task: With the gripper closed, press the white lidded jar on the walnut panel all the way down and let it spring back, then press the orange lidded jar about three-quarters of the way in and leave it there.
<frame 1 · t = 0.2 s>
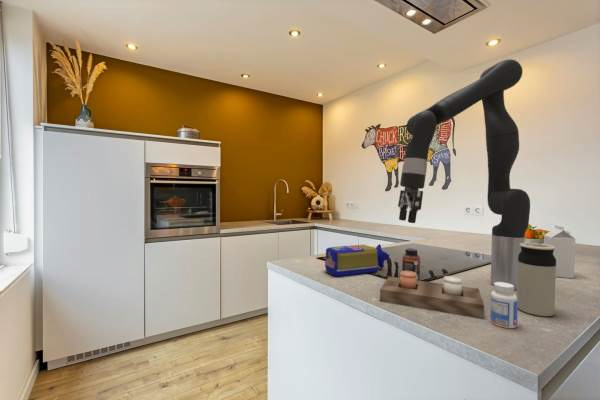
hand: (406, 221, 97), 22 cm above the counter, tool pointing down, fingers open, 8 cm apart
supplement bottle: (410, 280, 106), on the counter
button panel: (429, 300, 86), on the counter
bread: (355, 272, 117), on the counter
pill bottle: (503, 324, 72), on the counter
white lidded jar: (452, 286, 84), point 5 cm above the counter, slide at 0.0 cm
travel mug: (534, 311, 79), on the counter
milk carton: (557, 275, 113), on the counter
orange lidded jar: (408, 280, 89), point 5 cm above the counter, slide at 0.0 cm
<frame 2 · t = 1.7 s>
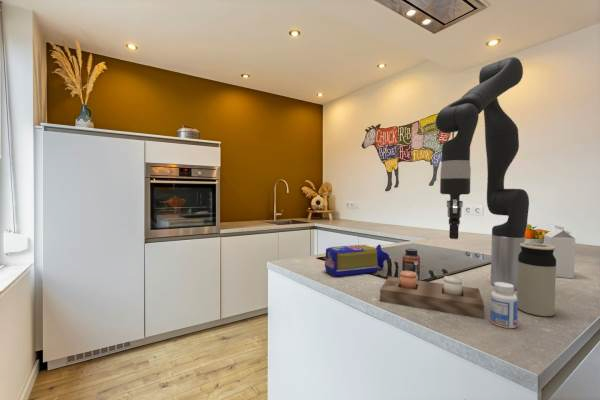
hand: (453, 238, 83), 19 cm above the counter, tool pointing down, fingers closed
nothing on the counter moved.
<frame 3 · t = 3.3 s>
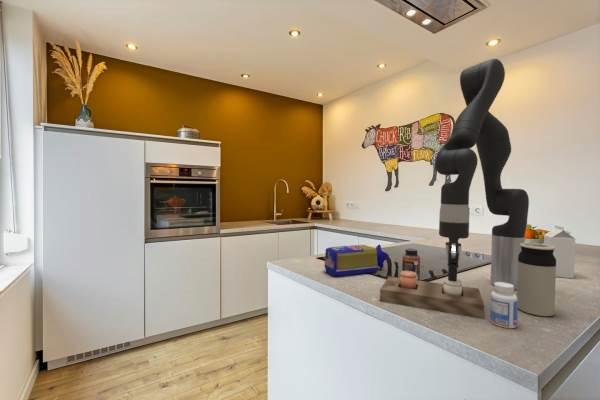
hand: (452, 280, 83), 7 cm above the counter, tool pointing down, fingers closed
white lidded jar: (452, 288, 84), point 4 cm above the counter, slide at 0.7 cm, touching gripper
everything else where it was.
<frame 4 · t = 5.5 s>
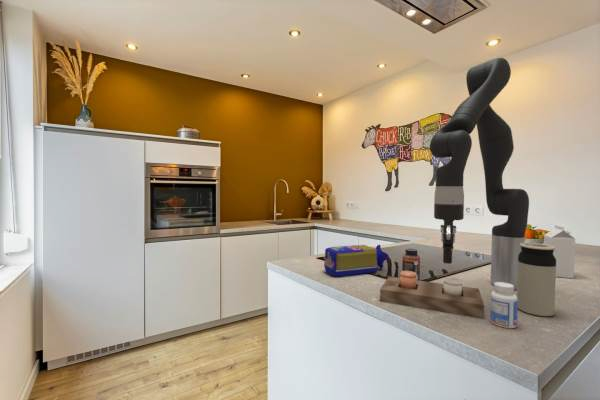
hand: (447, 262, 84), 12 cm above the counter, tool pointing down, fingers closed
white lidded jar: (452, 288, 84), point 5 cm above the counter, slide at 0.4 cm
everything else where it was.
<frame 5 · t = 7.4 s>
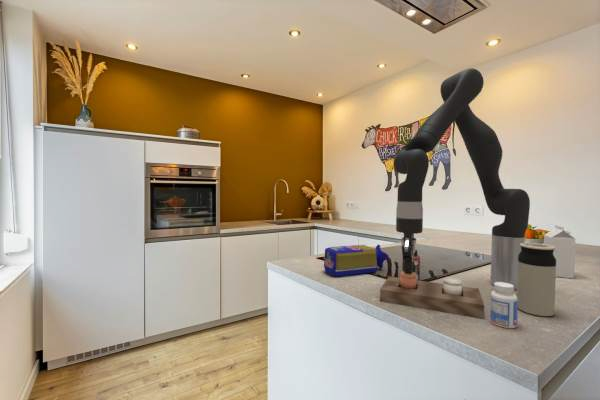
hand: (408, 273, 89), 7 cm above the counter, tool pointing down, fingers closed
orange lidded jar: (408, 281, 89), point 5 cm above the counter, slide at 0.1 cm, touching gripper
everything else where it was.
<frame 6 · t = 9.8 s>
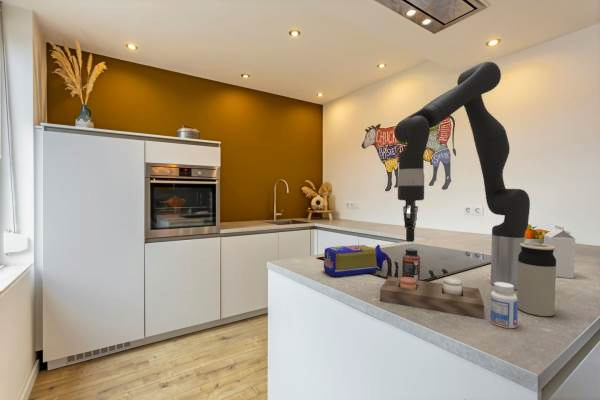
hand: (410, 241, 89), 17 cm above the counter, tool pointing down, fingers closed
orange lidded jar: (408, 287, 89), point 3 cm above the counter, slide at 1.9 cm
everything else where it was.
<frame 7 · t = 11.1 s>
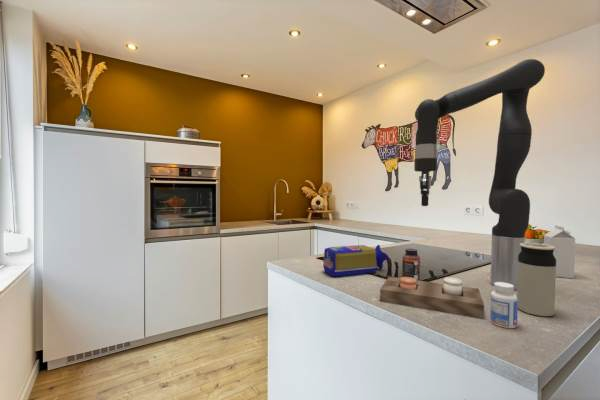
hand: (424, 205, 106), 27 cm above the counter, tool pointing down, fingers closed
nothing on the counter moved.
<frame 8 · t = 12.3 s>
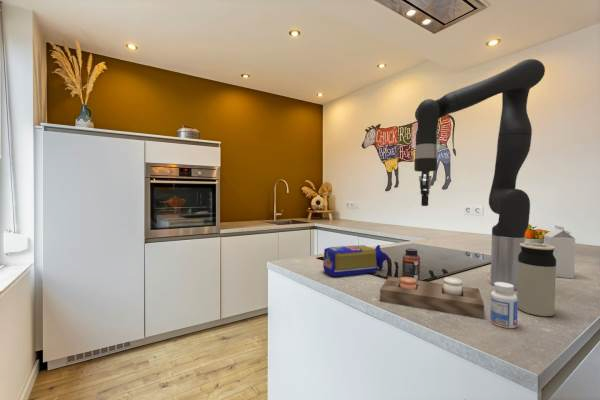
hand: (424, 205, 106), 27 cm above the counter, tool pointing down, fingers closed
at the end: orange lidded jar slide at 1.9 cm; white lidded jar slide at 0.4 cm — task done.
